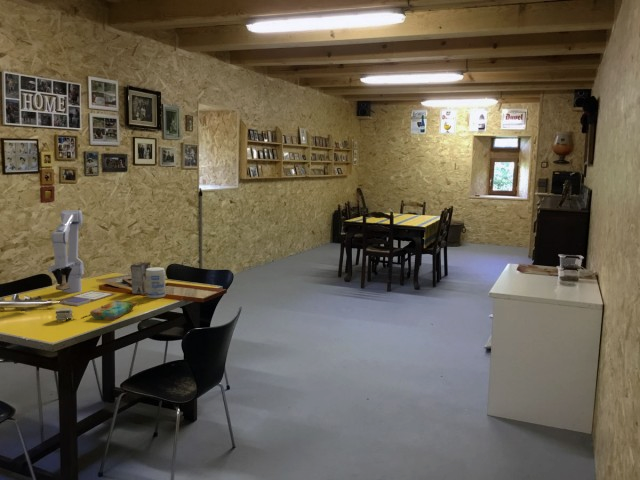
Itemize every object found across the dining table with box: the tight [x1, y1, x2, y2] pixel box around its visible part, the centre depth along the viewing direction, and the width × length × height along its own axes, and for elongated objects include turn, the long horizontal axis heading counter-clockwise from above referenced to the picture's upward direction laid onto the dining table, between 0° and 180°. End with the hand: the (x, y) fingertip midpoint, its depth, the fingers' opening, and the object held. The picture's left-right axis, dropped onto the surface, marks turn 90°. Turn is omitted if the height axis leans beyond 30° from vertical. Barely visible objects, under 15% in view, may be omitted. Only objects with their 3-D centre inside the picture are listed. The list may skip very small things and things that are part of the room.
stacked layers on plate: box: [54, 306, 74, 322], centre depth 240 cm, size 10×9×6 cm
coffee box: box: [130, 261, 151, 297], centre depth 288 cm, size 9×6×16 cm
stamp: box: [55, 275, 70, 291], centre depth 268 cm, size 5×4×7 cm
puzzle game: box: [89, 300, 138, 321], centre depth 250 cm, size 12×5×20 cm
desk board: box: [55, 290, 117, 308], centre depth 275 cm, size 18×27×1 cm, turn 158°
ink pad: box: [64, 298, 92, 307], centre depth 265 cm, size 9×8×2 cm
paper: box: [73, 290, 112, 300], centre depth 280 cm, size 14×12×1 cm
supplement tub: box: [145, 266, 166, 299], centre depth 282 cm, size 10×10×15 cm
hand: (62, 283), depth 268 cm, fingers closed on stamp, 3 cm apart
